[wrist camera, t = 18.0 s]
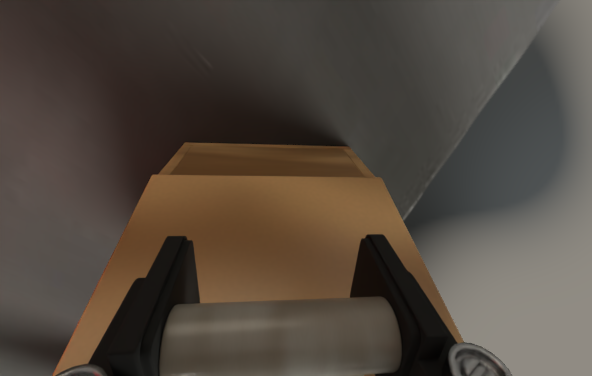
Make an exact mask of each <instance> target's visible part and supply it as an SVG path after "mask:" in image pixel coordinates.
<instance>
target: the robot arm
mask: <svg viewBox="0 0 592 376" xmlns="http://www.w3.org/2000/svg"><path fill="white" fill-rule="evenodd" d="M353 297H383V298H385V299H386V300H387V301H388V302H389V303H390V305H391V307H392V308H393V311H394V313H395V315H396V318H397V321H398V325H399V329H400V334H401V341H402V359H401V364H400V367H399V369H398V370H397V371H396V372H394V373H384V374H375V376H512V374H511V373H510V371H509V369H508V368H507V367H506V366H505V364H504V363H503V362H502V361H501V360H500V359H499V358H498V357H496V356H495V355H494V354H493V353H491V352H489V351H488V350H486V349H484V348H483V347H481V346H478V345H475V344H472V343H465V342H462V343H457V341H456V340H455V338H454V337H453V335H452V334H451V332H450V331H449V329H448V328H447V326H446V325H445V323H444V322H443V320H442V319H441V317H440V316H439V314H438V312H437V311H436V309H435V308H434V306H433V305H432V303H431V302H430V300H429V299H428V297H427V296H426V294H425V293H424V291H423V290H422V288H421V287H420V285H419V283H418V282H417V280H416V279H415V277H414V276H413V275H412V274H411V273H410V272H408V271H407V269H406V268H405V266H404V265H403V263H402V262H401V260H400V259H399V257H398V255H397V254H396V252H395V251H394V249H393V248H392V246H391V245H390V243H389V241H388V240H387V238H386V237H385V236H384V235H383V234H368V235H366V237H365V238H362V239H361V241H360V245H359V251H358V256H357V261H356V266H355V271H354V276H353V281H352V286H351V291H350V298H353ZM195 303H200V296H199V287H198V279H197V270H196V262H195V254H194V245H193V241H192V240H187V237H186V236H167V238H166V239H165V241H164V243H163V245H162V247H161V249H160V251H159V253H158V255H157V256H156V258H155V260H154V262H153V264H152V266H151V268H150V270H149V272H148V274H147V276H146V278H137V279H136V280H135V281H134V282H133V284H132V285H131V287H130V289H129V291H128V292H127V294H126V296H125V298H124V300H123V301H122V303H121V305H120V307H119V309H118V310H117V312H116V314H115V316H114V317H113V319H112V321H111V323H110V325H109V326H108V328H107V330H106V332H105V334H104V335H103V337H102V339H101V341H100V342H99V344H98V346H97V348H96V350H95V351H94V353H93V355H92V357H91V359H90V360H89V362H88V364H82V365H78V366H73V367H71V368H69V369H66V370H64V371H62V372H60V373H58V374H57V375H55V376H159V353H160V345H161V339H162V334H163V330H164V326H165V323H166V320H167V318H168V315H169V313H170V311H171V309H172V308H173V307H174V306H175V305H177V304H195Z"/></svg>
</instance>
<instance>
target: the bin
mask: <svg viewBox="0 0 592 376" xmlns="http://www.w3.org/2000/svg"><path fill="white" fill-rule="evenodd" d="M158 175H223V176H301V177H375V176H374V175H373V174H372V173H371V172H370V171H369V169H368V168H367V167H366V166H365V165H364V164H363V162H362V161H361V160H360V159H359V158H358V157H357V155H356V154H355V153H354V152H353V151H352V150H351V148H350V147H346V146H307V145H268V144H229V143H190V142H185V143H184V144H183V146H182V147H181V148H180V149H179V150H178V151H177V153H176V154H175V155H174V156H173V157H172V158H171V160H170V161H169V162H168V163H167V164H166V166H165V167H164V168H163V169H162V170H161V171H160V173H159V174H158Z"/></svg>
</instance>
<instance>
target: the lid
mask: <svg viewBox="0 0 592 376" xmlns="http://www.w3.org/2000/svg"><path fill="white" fill-rule="evenodd" d="M368 234H383V235H384V236H385V237H386V238H387V240H388V241H389V243H390V245H391V246H392V248H393V249H394V251H395V252H396V254H397V255H398V257H399V259H400V260H401V262H402V263H403V265H404V266H405V268H406V269H407V271H408V272H410V273H411V274H412V275H413V276H414V277H415V279H416V280H417V282H418V283H419V285H420V287H421V288H422V290H423V291H424V293H425V294H426V296H427V297H428V299H429V300H430V302H431V303H432V305H433V306H434V308H435V309H436V311H437V312H438V314H439V316H440V317H441V319H442V320H443V322H444V323H445V325H446V326H447V328H448V329H449V331H450V332H451V334H452V335H453V337H454V338H455V340H456V341H457V343H462V342H464V341H463V339H462V337H461V335H460V333H459V331H458V329H457V327H456V325H455V323H454V321H453V319H452V318H451V315H450V313H449V312H448V310H447V307H446V306H445V303H444V301H443V299H442V297H441V296H440V293H439V291H438V290H437V288H436V286H435V284H434V282H433V280H432V278H431V276H430V274H429V272H428V270H427V268H426V266H425V264H424V262H423V260H422V258H421V256H420V254H419V252H418V250H417V248H416V246H415V244H414V242H413V240H412V238H411V236H410V234H409V232H408V230H407V228H406V226H405V224H404V222H403V220H402V218H401V216H400V214H399V212H398V210H397V208H396V206H395V204H394V202H393V200H392V198H391V196H390V194H389V192H388V190H387V188H386V186H385V184H384V182H383V180H382V178H379V177H301V176H223V175H152V176H151V178H150V180H149V182H148V184H147V186H146V188H145V190H144V192H143V194H142V196H141V198H140V200H139V202H138V204H137V206H136V208H135V210H134V212H133V214H132V216H131V218H130V220H129V222H128V224H127V226H126V228H125V230H124V232H123V234H122V236H121V238H120V240H119V242H118V244H117V246H116V248H115V250H114V252H113V254H112V256H111V258H110V260H109V262H108V264H107V266H106V268H105V270H104V272H103V274H102V276H101V278H100V280H99V282H98V284H97V286H96V288H95V290H94V292H93V294H92V297H91V299H90V301H89V303H88V305H87V307H86V309H85V311H84V313H83V315H82V317H81V319H80V321H79V323H78V325H77V327H76V329H75V331H74V333H73V335H72V337H71V339H70V341H69V343H68V345H67V347H66V349H65V351H64V353H63V355H62V357H61V359H60V361H59V363H58V365H57V367H56V369H55V371H54V373H53V375H52V376H55V375H57V374H58V373H60V372H62V371H64V370H66V369H69V368H71V367H73V366H78V365H82V364H88V362H89V360H90V359H91V357H92V355H93V353H94V351H95V350H96V348H97V346H98V344H99V342H100V341H101V339H102V337H103V335H104V334H105V332H106V330H107V328H108V326H109V325H110V323H111V321H112V319H113V317H114V316H115V314H116V312H117V310H118V309H119V307H120V305H121V303H122V301H123V300H124V298H125V296H126V294H127V292H128V291H129V289H130V287H131V285H132V284H133V282H134V281H135V280H136V279H137V278H146V276H147V274H148V272H149V270H150V268H151V266H152V264H153V262H154V260H155V258H156V256H157V255H158V253H159V251H160V249H161V247H162V245H163V243H164V241H165V239H166V238H167V236H186V237H187V240H192V241H193V245H194V254H195V262H196V270H197V279H198V287H199V296H200V303H195V304H177V305H175V306H174V307H173V308H172V309H171V311H170V313H169V315H168V318H167V320H166V323H165V326H164V330H163V334H162V339H161V345H160V353H159V376H375V374H384V373H394V372H396V371H397V370H398V369H399V367H400V364H401V359H402V341H401V334H400V329H399V325H398V321H397V318H396V315H395V313H394V311H393V308H392V307H391V305H390V303H389V302H388V301H387V300H386V299H385V298H383V297H353V298H350V291H351V286H352V281H353V276H354V271H355V266H356V261H357V256H358V251H359V245H360V241H361V239H362V238H365V237H366V235H368Z"/></svg>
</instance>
